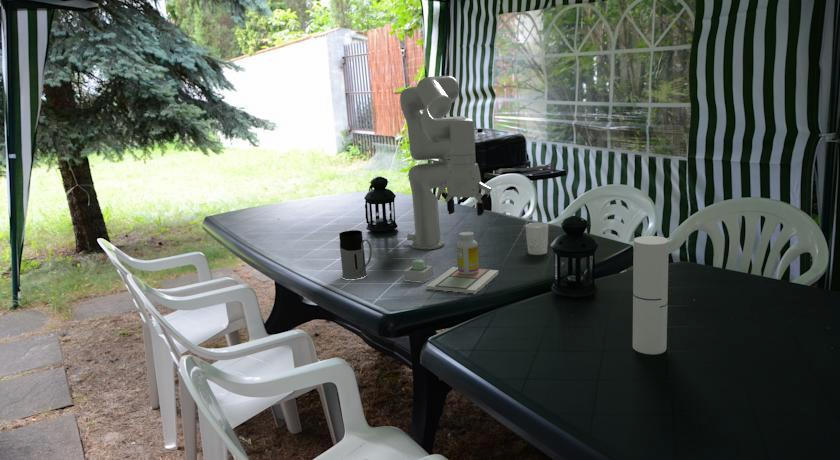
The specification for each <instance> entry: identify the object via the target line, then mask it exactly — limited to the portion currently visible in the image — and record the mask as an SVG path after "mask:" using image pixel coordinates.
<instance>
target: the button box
mask: <svg viewBox="0 0 840 460" xmlns="http://www.w3.org/2000/svg"><path fill="white" fill-rule="evenodd" d="M434 272H435V271H434V266H433V265H425V269H424V270H423V271H415V270H412V265H411V266H409V267H408V268H406V269H405V270H403V275H404V276H403V277H404V281H405V280H410V281H421V282H424V281H426V280H427V279H429V278H431V277H432V276H435V275H434ZM432 278H433V277H432ZM432 278H431V279H432ZM429 280H430V279H429Z"/></svg>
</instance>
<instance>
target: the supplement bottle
mask: <svg viewBox="0 0 840 460" xmlns="http://www.w3.org/2000/svg"><path fill="white" fill-rule="evenodd" d="M474 236H475V233H474V232H472V231H463V232H459V234H458V239H459V241H457V243H456V254H457V255H456V258H457V259H456V260H457V267H458V271H459V273H460V274H463V275H472V274H476V273H478V272H479V268H480V264H479V263H480V262H479V245H478V241H476V240H475V239H474Z"/></svg>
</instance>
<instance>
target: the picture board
mask: <svg viewBox="0 0 840 460" xmlns="http://www.w3.org/2000/svg"><path fill="white" fill-rule="evenodd" d="M498 275H499V270H496V269H490V268H481V267H479V272H478V273H476V274H472V275H463V274H460V273H459V271H458V266H452V267H451V268H448V270H446V271H445V272H444V273H442V274H441V275H439V276H438V277H436V278H435V279H434V280H432V281H431V282H430V283H429V284H427V285H426V289H427V288H428V289H437V290H444V291H443V292H447V291H453V292H452V293H457V292H465V293H464V294H468V293H473V294H472V295H477V294H478V293H479V292H480V291H481V290H482V289H484V287H486V286H487V285H488V284H489V283H490V282H491V281H493V280H494V279H495V278H496V277H497V276H498ZM485 285H486V286H485ZM478 291H479V292H478ZM477 292H478V293H477ZM476 293H477V294H476Z"/></svg>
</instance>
